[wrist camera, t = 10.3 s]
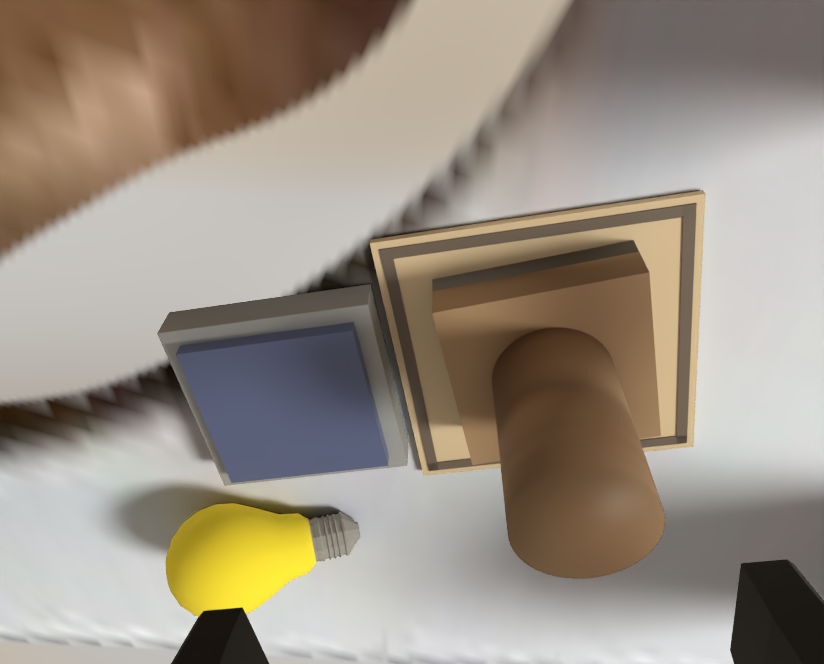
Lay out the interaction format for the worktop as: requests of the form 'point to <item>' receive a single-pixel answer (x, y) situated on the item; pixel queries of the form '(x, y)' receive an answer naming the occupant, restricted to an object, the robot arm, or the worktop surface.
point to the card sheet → (527, 240)
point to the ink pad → (289, 385)
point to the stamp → (560, 401)
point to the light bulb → (249, 554)
